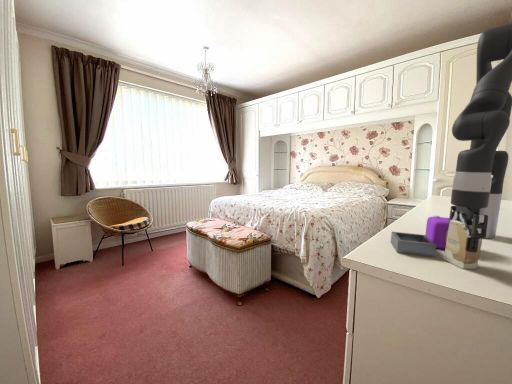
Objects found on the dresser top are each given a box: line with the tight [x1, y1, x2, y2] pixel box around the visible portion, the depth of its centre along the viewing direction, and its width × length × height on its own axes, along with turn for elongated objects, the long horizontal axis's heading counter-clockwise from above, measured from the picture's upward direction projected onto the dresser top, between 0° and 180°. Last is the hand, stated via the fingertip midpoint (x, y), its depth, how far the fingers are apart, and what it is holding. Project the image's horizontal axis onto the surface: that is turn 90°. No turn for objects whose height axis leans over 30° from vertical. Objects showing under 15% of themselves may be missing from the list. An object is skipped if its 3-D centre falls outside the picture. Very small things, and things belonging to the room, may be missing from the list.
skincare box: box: [443, 220, 483, 270], centre depth 64 cm, size 6×4×12 cm
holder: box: [390, 231, 437, 258], centre depth 75 cm, size 10×10×4 cm
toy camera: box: [424, 214, 449, 250], centre depth 78 cm, size 11×14×10 cm
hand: (462, 246), depth 64 cm, fingers open, 8 cm apart
